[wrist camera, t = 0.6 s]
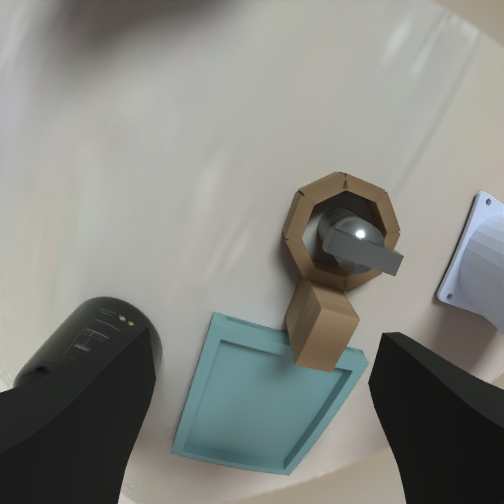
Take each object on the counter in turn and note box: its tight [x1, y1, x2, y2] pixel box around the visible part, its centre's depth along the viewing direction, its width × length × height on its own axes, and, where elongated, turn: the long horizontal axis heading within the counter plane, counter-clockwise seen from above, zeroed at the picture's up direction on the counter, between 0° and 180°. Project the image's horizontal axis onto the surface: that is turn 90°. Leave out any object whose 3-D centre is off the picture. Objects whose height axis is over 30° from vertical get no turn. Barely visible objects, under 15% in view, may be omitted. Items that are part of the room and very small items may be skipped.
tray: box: [171, 312, 369, 475], centre depth 21 cm, size 10×14×2 cm
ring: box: [282, 172, 400, 373], centre depth 16 cm, size 9×6×5 cm, turn 162°
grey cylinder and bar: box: [318, 208, 404, 276], centre depth 15 cm, size 4×2×5 cm, turn 72°
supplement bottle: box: [13, 297, 161, 388], centre depth 14 cm, size 7×7×12 cm
